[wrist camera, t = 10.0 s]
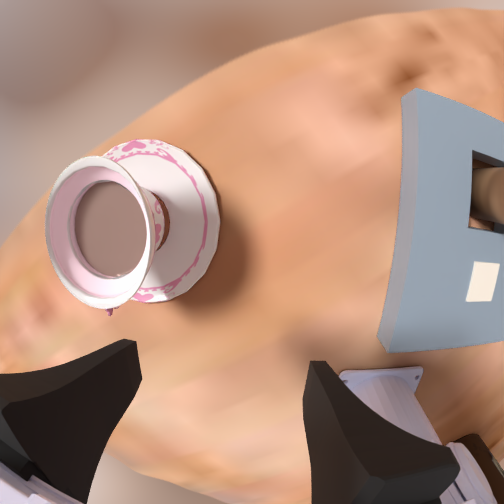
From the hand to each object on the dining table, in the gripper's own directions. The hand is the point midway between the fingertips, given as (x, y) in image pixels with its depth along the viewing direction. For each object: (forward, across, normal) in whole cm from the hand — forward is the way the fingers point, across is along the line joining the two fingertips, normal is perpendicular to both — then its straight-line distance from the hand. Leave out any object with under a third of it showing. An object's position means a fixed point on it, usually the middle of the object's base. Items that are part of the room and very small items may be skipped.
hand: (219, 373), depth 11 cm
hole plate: (+9, -18, -6) cm, 21 cm away
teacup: (+10, +8, -5) cm, 13 cm away
